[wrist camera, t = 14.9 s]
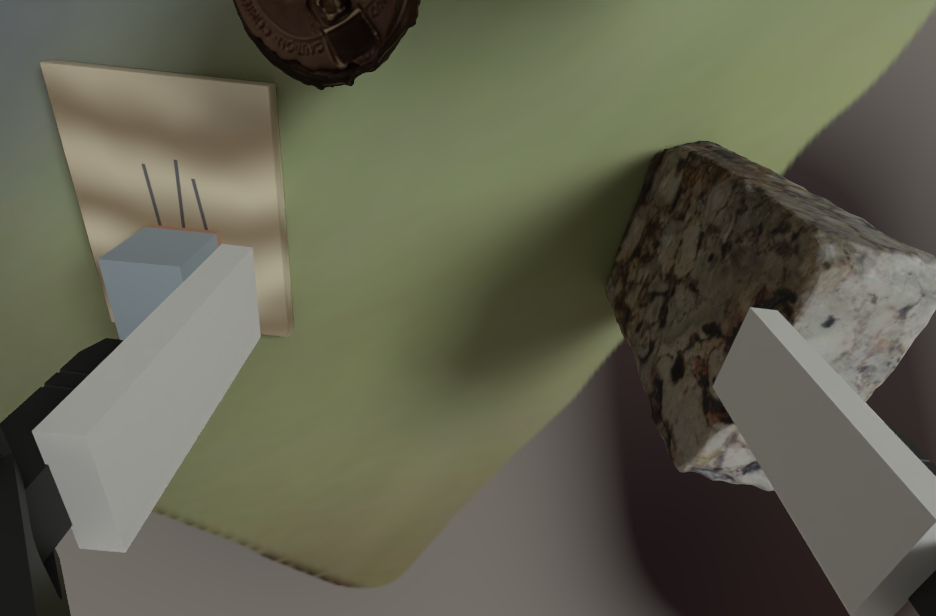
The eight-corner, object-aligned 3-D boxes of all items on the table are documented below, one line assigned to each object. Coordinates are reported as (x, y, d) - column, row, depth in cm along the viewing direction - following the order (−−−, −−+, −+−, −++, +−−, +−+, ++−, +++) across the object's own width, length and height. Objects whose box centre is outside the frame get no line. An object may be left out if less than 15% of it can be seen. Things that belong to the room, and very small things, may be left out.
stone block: (675, 304, 43) (816, 506, 26) (592, 295, 43) (678, 493, 25) (738, 140, 36) (983, 261, 19) (641, 126, 36) (802, 238, 19)
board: (56, 60, 34) (39, 62, 33) (275, 83, 35) (268, 86, 33) (122, 312, 43) (111, 321, 42) (294, 326, 44) (288, 336, 43)
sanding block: (148, 224, 38) (97, 259, 33) (219, 231, 38) (180, 266, 33) (168, 318, 42) (125, 363, 37) (232, 324, 42) (198, 369, 37)
